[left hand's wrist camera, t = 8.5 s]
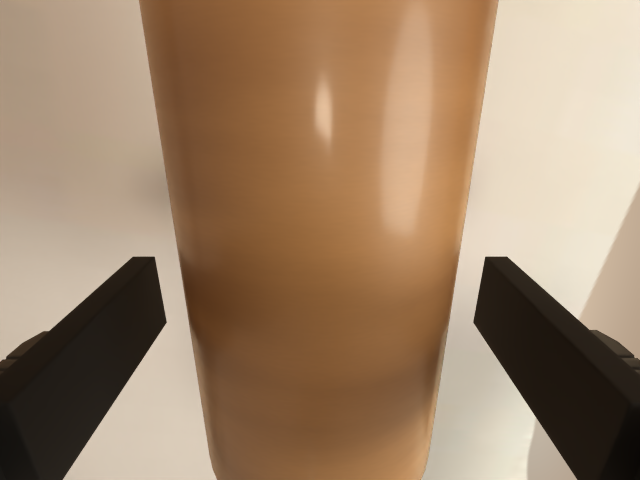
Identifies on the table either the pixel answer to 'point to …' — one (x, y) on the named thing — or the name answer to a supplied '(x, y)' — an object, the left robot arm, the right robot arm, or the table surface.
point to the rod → (318, 219)
